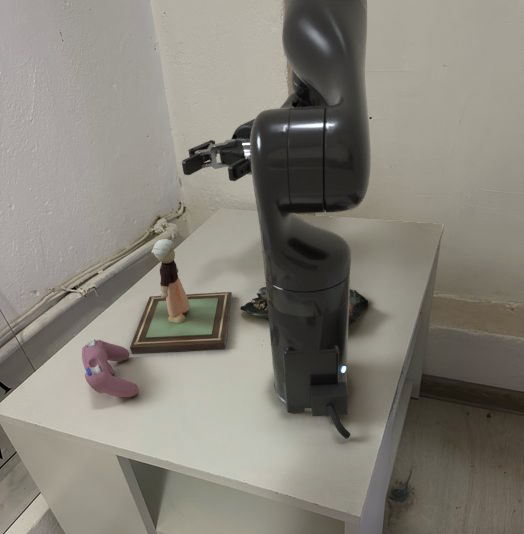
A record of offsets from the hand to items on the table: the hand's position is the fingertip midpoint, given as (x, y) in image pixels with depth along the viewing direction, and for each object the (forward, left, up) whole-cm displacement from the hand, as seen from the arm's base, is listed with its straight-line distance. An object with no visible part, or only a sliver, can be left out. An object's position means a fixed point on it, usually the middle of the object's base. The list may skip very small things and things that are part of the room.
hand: (207, 171), depth 71 cm
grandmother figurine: (-9, +6, -19) cm, 22 cm away
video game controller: (-23, +14, -21) cm, 33 cm away
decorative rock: (-8, -13, -21) cm, 26 cm away
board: (-10, +6, -20) cm, 23 cm away
